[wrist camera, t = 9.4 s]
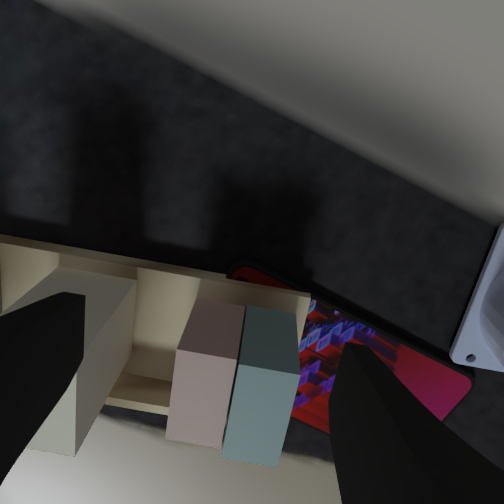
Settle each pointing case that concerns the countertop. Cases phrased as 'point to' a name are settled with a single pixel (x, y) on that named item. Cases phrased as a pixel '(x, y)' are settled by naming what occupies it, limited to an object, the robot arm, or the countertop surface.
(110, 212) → the countertop surface
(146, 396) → the shelf board
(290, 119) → the countertop surface
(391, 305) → the countertop surface
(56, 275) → the book
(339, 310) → the smartphone
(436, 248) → the countertop surface
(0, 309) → the bookend
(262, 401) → the shelved books
